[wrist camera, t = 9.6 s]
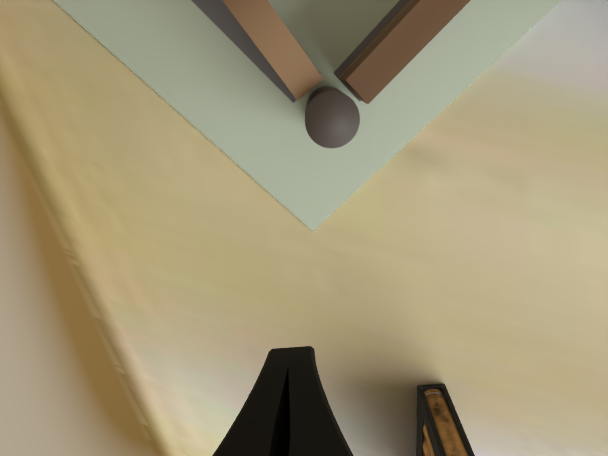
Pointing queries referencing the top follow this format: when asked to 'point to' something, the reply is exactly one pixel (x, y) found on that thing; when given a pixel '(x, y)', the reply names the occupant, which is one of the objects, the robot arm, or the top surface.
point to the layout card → (291, 113)
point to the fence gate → (276, 44)
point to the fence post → (375, 69)
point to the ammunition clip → (439, 424)
